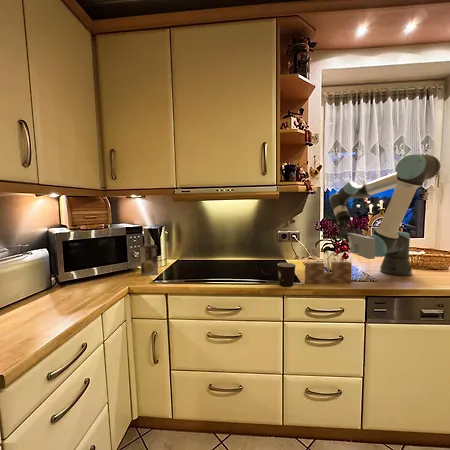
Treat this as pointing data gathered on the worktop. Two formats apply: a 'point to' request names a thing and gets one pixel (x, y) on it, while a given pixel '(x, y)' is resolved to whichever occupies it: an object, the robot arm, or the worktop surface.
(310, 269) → the walnut slotted board
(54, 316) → the worktop surface
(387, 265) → the robot arm
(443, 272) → the worktop surface
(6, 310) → the worktop surface
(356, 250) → the grey plain narrow board
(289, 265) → the coffee mug
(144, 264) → the coffee box
